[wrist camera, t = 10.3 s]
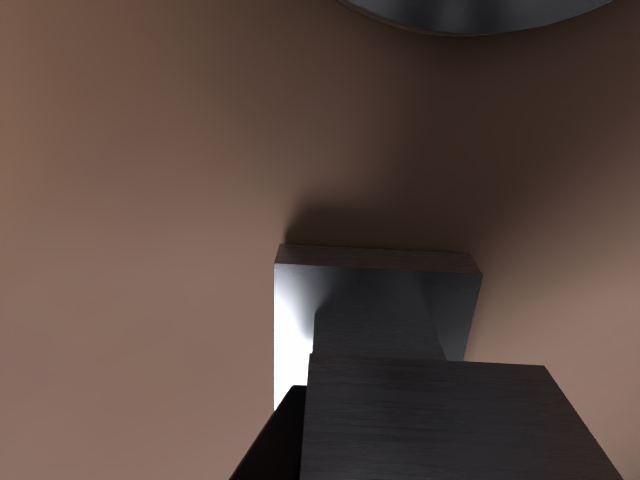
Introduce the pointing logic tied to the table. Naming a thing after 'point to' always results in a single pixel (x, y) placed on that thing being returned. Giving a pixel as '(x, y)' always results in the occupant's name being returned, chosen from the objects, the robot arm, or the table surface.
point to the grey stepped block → (412, 375)
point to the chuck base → (470, 14)
